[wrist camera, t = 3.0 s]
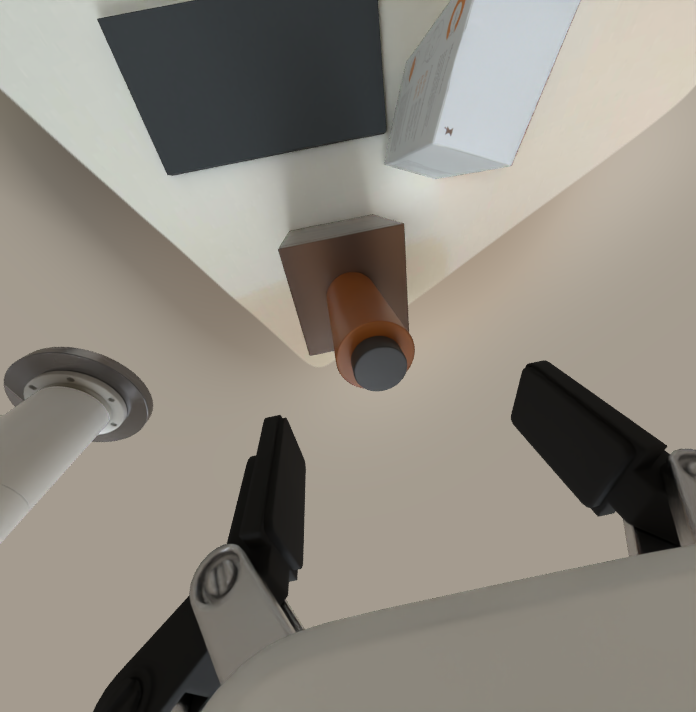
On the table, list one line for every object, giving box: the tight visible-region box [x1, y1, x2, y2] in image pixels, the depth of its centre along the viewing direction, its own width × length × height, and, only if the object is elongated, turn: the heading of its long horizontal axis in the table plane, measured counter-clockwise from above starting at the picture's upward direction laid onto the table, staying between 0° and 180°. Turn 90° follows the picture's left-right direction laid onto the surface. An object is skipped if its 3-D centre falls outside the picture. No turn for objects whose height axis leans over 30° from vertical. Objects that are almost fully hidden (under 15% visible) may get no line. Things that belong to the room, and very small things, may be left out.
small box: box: [384, 0, 581, 179], centre depth 21 cm, size 8×6×13 cm
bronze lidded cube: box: [278, 214, 409, 356], centre depth 28 cm, size 10×10×12 cm
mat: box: [97, 0, 386, 176], centre depth 23 cm, size 22×10×1 cm, turn 100°
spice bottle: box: [327, 272, 415, 391], centre depth 18 cm, size 4×4×11 cm
